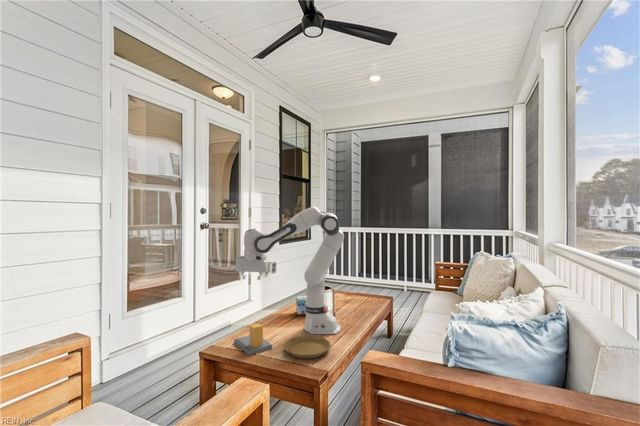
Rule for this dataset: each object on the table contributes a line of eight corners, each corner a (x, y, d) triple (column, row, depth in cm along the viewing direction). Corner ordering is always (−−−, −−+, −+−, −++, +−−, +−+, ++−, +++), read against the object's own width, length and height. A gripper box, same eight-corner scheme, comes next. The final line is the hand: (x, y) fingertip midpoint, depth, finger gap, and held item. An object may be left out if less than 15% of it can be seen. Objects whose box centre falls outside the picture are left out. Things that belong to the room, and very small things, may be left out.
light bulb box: (297, 314, 222) (297, 299, 222) (295, 311, 229) (295, 296, 228) (312, 313, 225) (312, 297, 225) (310, 310, 231) (310, 295, 231)
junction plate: (234, 342, 176) (233, 328, 176) (255, 337, 184) (255, 323, 183) (248, 355, 161) (248, 339, 160) (271, 348, 168) (271, 333, 168)
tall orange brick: (258, 341, 172) (258, 323, 172) (262, 345, 168) (262, 325, 168) (249, 344, 169) (249, 325, 169) (253, 347, 165) (253, 328, 165)
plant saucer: (296, 338, 182) (296, 332, 182) (336, 344, 173) (336, 338, 173) (275, 356, 159) (275, 350, 159) (320, 365, 151) (320, 358, 151)
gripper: (233, 256, 191) (233, 279, 191) (265, 257, 187) (265, 281, 187) (238, 255, 197) (238, 277, 198) (269, 255, 193) (269, 278, 193)
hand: (251, 279), depth 192 cm, fingers open, 8 cm apart
